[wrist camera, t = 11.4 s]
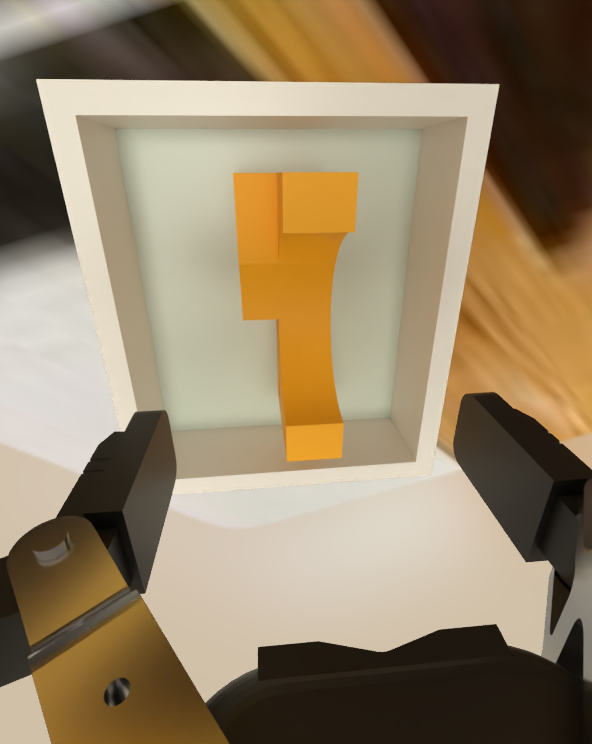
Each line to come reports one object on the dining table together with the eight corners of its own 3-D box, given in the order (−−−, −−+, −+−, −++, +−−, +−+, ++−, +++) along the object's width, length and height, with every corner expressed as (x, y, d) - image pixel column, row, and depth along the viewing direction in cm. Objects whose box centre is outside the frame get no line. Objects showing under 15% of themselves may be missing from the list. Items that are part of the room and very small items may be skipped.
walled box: (436, 107, 20) (499, 84, 15) (398, 421, 27) (430, 475, 23) (94, 105, 18) (35, 78, 13) (157, 436, 26) (135, 497, 21)
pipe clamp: (235, 173, 19) (229, 172, 13) (326, 173, 19) (358, 171, 14) (249, 395, 24) (248, 464, 19) (320, 391, 25) (341, 457, 19)
